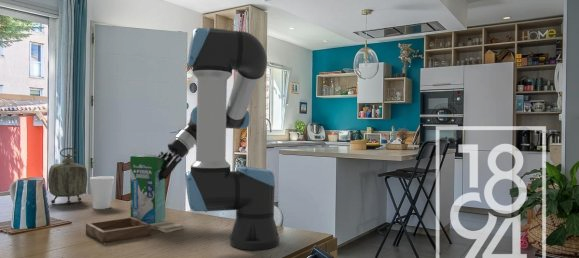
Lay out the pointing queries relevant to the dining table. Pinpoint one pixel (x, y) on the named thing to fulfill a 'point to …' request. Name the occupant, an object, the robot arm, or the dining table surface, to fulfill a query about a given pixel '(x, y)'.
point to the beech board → (166, 226)
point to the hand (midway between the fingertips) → (139, 188)
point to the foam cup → (101, 191)
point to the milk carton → (147, 188)
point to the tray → (118, 229)
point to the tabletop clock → (67, 178)
